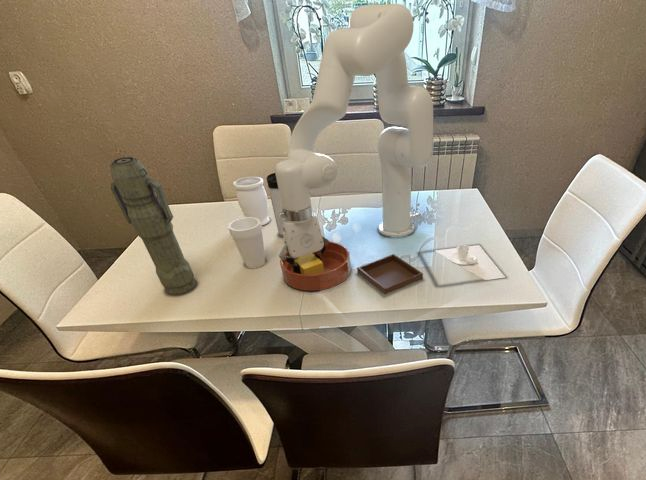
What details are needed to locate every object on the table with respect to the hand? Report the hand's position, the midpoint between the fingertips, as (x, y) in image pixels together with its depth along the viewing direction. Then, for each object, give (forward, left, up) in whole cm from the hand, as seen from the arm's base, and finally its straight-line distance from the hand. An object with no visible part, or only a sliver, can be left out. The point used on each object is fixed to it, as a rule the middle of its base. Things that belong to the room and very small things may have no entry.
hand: (308, 271), depth 111 cm
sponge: (0, 0, -1) cm, 1 cm away
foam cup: (+10, -18, -2) cm, 21 cm away
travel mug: (-7, -31, -2) cm, 32 cm away
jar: (-2, -47, -2) cm, 47 cm away
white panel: (-40, +22, -2) cm, 45 cm away
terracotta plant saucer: (-3, 0, -2) cm, 3 cm away
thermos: (+33, -18, -2) cm, 38 cm away
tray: (-19, +15, -2) cm, 24 cm away
